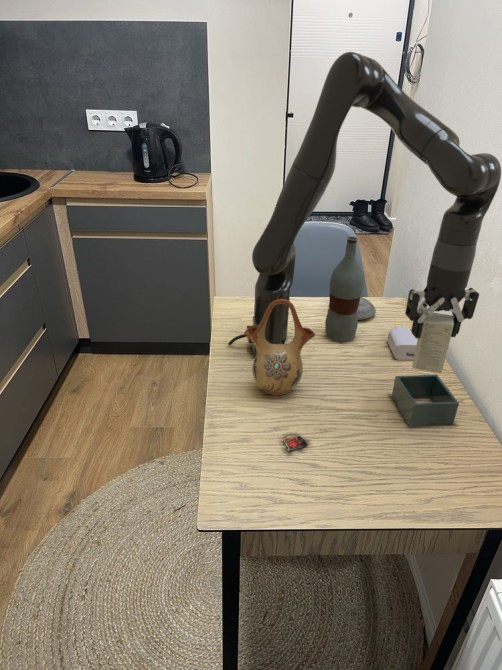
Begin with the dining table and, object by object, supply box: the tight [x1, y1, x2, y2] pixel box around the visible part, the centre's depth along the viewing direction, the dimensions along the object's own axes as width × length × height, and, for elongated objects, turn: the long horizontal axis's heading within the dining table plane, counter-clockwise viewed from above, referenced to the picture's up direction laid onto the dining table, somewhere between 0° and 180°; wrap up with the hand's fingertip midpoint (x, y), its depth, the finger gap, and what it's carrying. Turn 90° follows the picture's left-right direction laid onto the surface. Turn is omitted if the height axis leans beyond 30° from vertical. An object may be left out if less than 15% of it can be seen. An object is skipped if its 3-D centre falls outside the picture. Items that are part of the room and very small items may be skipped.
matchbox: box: [282, 433, 309, 453], centre depth 105 cm, size 5×5×1 cm
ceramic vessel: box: [243, 299, 316, 396], centre depth 116 cm, size 16×9×25 cm, turn 90°
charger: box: [386, 325, 418, 361], centre depth 141 cm, size 5×9×15 cm
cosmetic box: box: [412, 312, 454, 375], centre depth 105 cm, size 6×4×12 cm
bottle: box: [324, 236, 364, 344], centre depth 139 cm, size 9×9×30 cm
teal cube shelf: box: [391, 373, 460, 428], centre depth 115 cm, size 10×11×6 cm
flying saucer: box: [357, 296, 377, 321], centre depth 159 cm, size 15×15×6 cm
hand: (433, 335), depth 104 cm, fingers closed on cosmetic box, 7 cm apart
